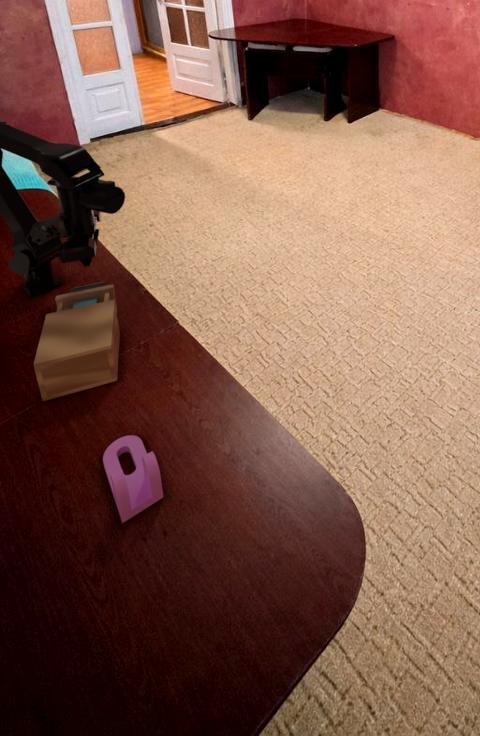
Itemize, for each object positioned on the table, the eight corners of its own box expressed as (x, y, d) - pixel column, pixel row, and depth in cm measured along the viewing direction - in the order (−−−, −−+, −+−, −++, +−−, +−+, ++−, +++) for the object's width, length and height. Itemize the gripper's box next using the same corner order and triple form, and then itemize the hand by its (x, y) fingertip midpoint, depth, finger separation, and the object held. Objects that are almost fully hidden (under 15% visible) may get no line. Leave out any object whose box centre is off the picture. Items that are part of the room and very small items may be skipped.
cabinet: (54, 348, 97) (46, 314, 94) (119, 332, 102) (114, 299, 99) (42, 401, 86) (33, 364, 83) (117, 380, 91) (110, 345, 88)
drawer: (64, 308, 107) (59, 282, 104) (118, 296, 111) (114, 272, 109) (52, 364, 93) (46, 336, 90) (114, 348, 97) (110, 321, 95)
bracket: (163, 497, 72) (158, 464, 70) (122, 523, 69) (115, 489, 66) (137, 435, 81) (132, 404, 79) (100, 455, 78) (93, 423, 75)
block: (77, 318, 103) (73, 302, 101) (99, 313, 104) (97, 297, 103) (74, 331, 99) (71, 315, 98) (98, 326, 101) (95, 309, 100)
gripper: (37, 191, 107) (50, 250, 113) (20, 232, 92) (36, 299, 97) (96, 184, 112) (105, 241, 118) (89, 222, 97) (100, 287, 102)
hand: (87, 265), depth 109 cm, fingers closed
